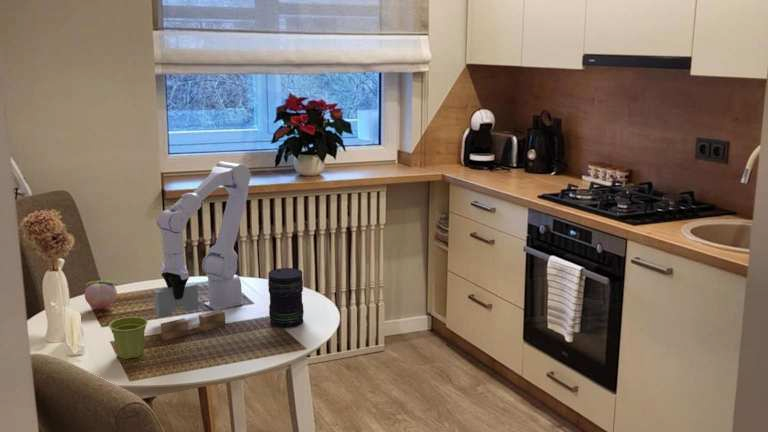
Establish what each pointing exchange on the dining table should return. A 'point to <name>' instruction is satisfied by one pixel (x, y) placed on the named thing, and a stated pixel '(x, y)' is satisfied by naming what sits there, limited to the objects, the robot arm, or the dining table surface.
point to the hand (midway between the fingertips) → (176, 297)
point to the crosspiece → (167, 300)
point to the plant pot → (129, 336)
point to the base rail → (182, 328)
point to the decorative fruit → (100, 293)
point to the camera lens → (285, 298)
